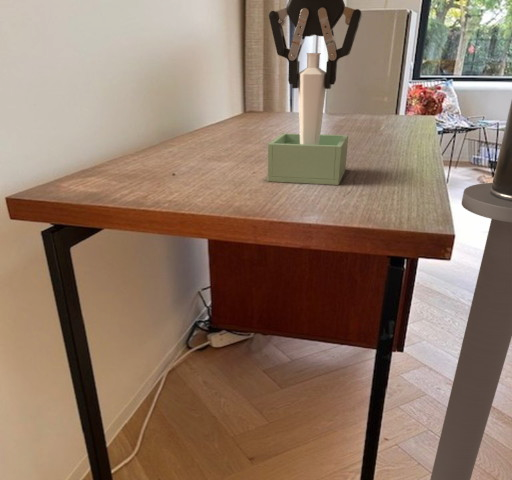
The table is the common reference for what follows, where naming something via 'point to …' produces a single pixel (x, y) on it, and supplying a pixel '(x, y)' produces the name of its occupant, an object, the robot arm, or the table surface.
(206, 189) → the table surface
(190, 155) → the table surface
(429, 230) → the table surface
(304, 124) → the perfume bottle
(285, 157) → the bin
